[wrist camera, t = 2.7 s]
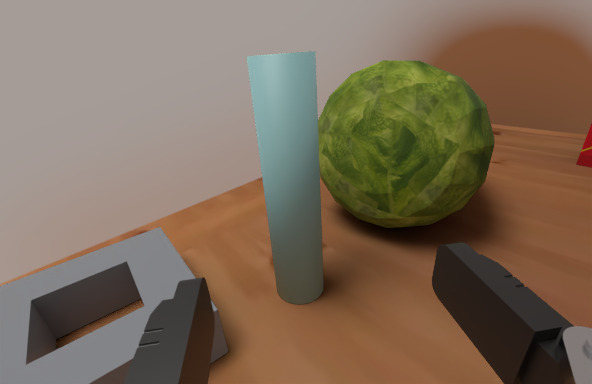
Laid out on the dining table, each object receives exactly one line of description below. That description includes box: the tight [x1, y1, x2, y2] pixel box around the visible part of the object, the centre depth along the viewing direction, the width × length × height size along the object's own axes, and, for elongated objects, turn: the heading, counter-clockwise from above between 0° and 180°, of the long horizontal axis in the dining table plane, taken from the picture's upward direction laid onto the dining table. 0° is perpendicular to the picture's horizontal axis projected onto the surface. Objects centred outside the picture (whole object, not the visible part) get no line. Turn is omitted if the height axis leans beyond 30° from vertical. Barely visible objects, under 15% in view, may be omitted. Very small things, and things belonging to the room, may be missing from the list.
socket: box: [0, 227, 228, 384], centre depth 20 cm, size 13×13×4 cm
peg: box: [247, 52, 324, 304], centre depth 21 cm, size 4×4×18 cm
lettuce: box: [318, 61, 494, 228], centre depth 35 cm, size 17×23×16 cm
